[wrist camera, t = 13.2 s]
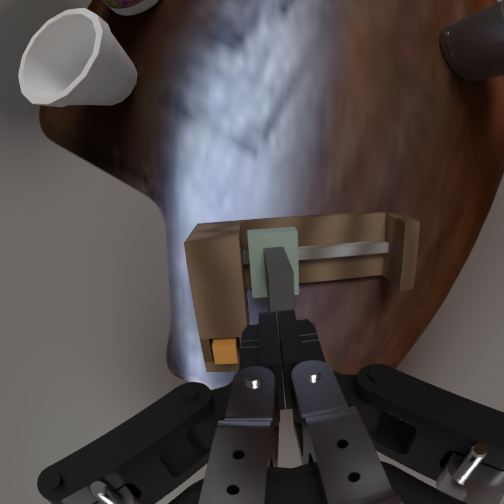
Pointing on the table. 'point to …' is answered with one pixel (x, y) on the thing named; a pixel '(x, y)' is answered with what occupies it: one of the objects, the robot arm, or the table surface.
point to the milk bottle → (130, 6)
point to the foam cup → (76, 63)
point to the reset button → (225, 350)
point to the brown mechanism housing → (309, 261)
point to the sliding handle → (274, 266)
